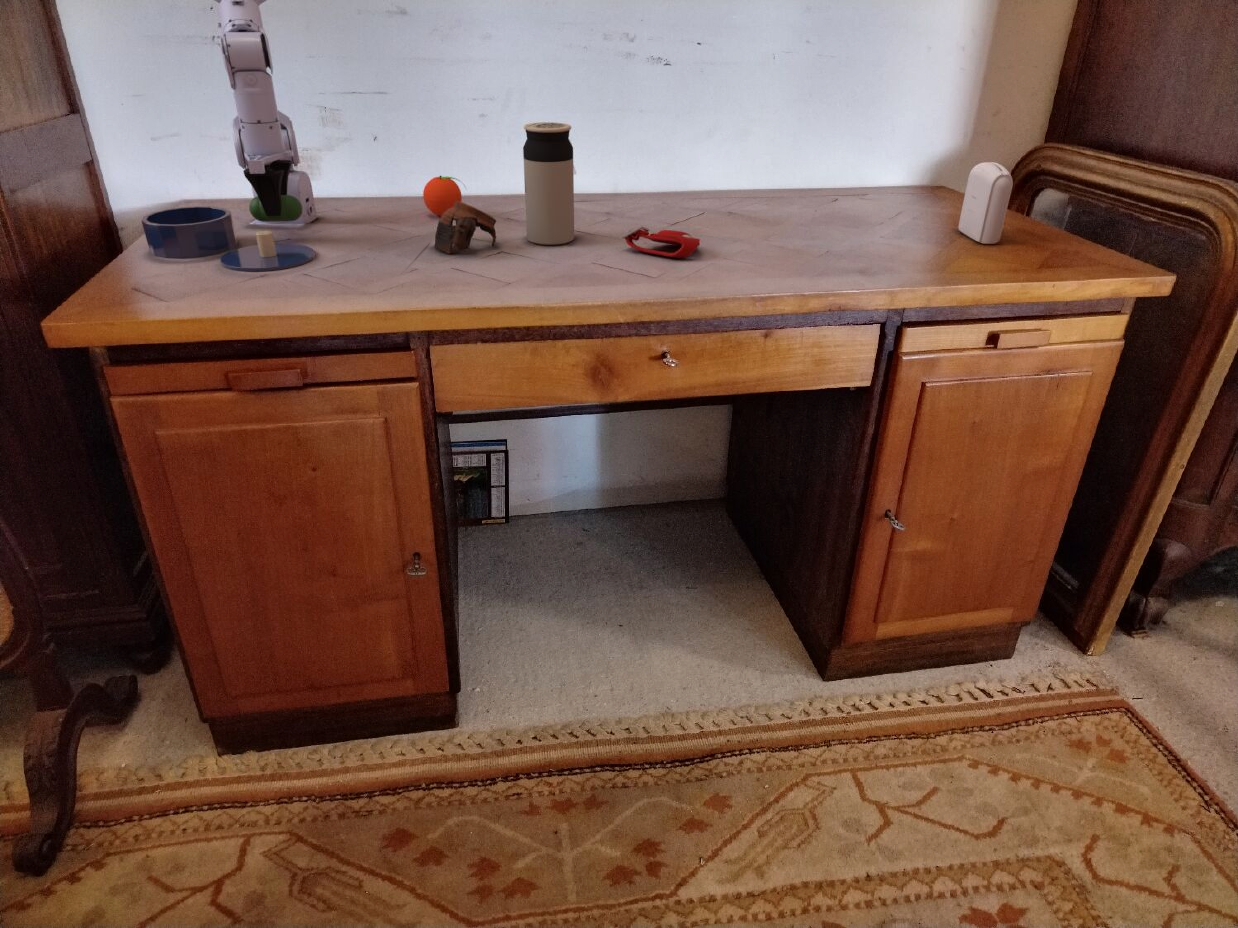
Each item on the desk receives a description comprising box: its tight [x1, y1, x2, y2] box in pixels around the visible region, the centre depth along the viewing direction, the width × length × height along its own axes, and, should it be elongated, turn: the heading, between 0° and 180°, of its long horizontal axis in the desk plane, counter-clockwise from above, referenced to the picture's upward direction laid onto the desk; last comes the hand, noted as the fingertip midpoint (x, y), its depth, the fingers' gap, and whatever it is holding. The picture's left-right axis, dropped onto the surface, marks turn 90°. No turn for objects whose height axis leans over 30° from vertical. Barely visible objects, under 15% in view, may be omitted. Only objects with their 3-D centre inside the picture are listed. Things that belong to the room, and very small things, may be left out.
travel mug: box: [522, 121, 575, 246], centre depth 135 cm, size 8×8×18 cm
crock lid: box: [219, 230, 316, 272], centre depth 125 cm, size 13×13×4 cm
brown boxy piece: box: [433, 201, 497, 255], centre depth 132 cm, size 12×10×8 cm
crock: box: [141, 205, 238, 260], centre depth 129 cm, size 12×12×6 cm
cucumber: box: [248, 195, 303, 222], centre depth 132 cm, size 8×4×4 cm, turn 98°
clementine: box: [422, 175, 467, 217], centre depth 151 cm, size 8×7×7 cm
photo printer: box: [957, 161, 1014, 245], centre depth 142 cm, size 10×4×12 cm, turn 2°
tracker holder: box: [621, 225, 701, 259], centre depth 132 cm, size 12×4×10 cm
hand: (276, 212), depth 132 cm, fingers closed on cucumber, 4 cm apart
